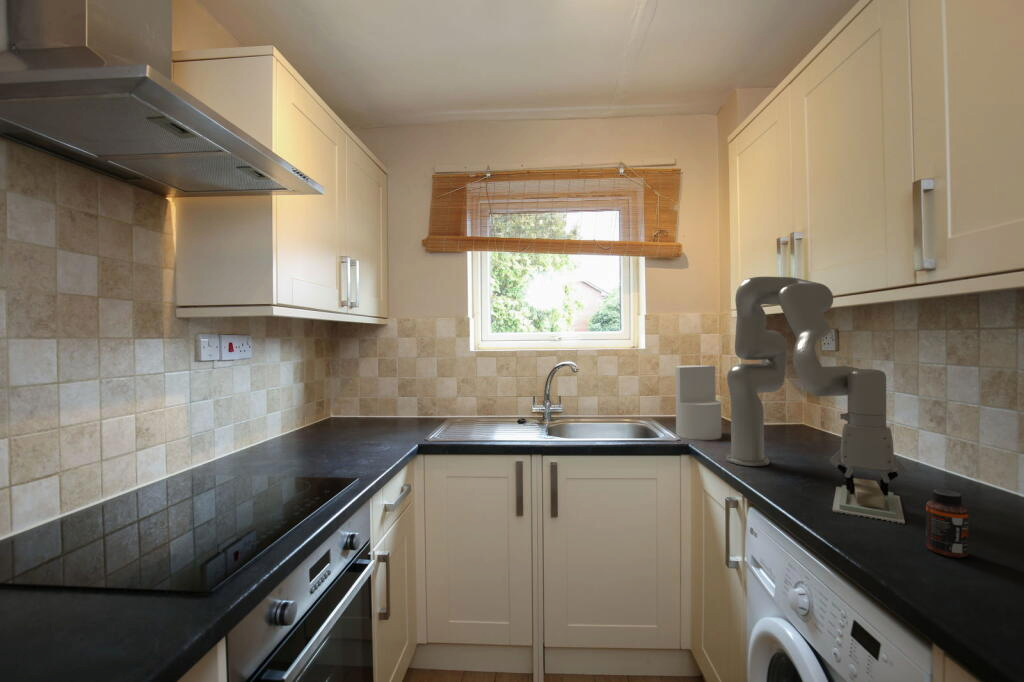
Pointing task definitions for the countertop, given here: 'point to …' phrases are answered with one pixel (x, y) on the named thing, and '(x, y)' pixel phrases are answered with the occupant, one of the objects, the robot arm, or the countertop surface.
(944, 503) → the supplement bottle
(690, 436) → the grey stepped piece
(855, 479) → the birch tile
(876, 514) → the white flat rectangular tray
